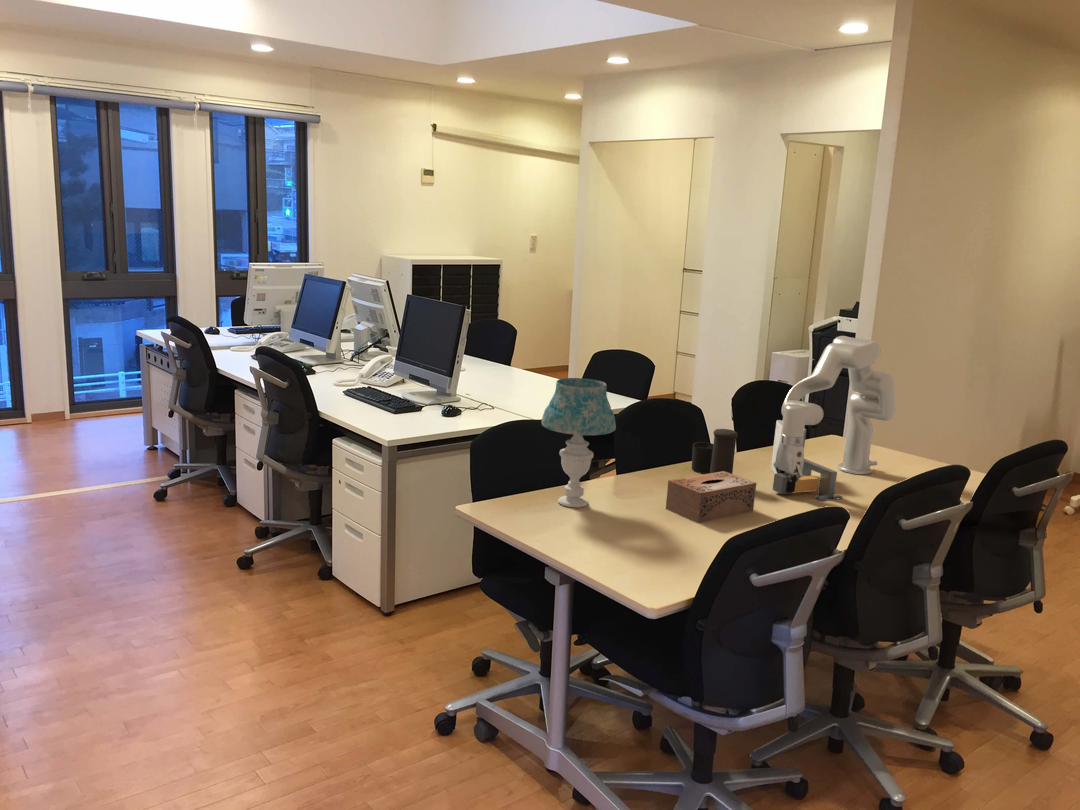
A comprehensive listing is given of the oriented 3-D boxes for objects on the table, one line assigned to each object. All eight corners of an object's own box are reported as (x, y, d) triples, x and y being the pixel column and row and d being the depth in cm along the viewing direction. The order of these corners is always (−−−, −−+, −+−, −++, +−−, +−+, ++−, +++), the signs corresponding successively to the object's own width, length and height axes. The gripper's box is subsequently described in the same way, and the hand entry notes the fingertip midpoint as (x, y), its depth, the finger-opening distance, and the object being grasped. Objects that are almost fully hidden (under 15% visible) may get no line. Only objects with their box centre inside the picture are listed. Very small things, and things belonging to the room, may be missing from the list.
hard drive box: (800, 481, 319) (807, 430, 315) (779, 480, 319) (786, 428, 315) (789, 470, 334) (795, 420, 330) (769, 468, 334) (775, 419, 330)
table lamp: (571, 487, 295) (579, 373, 287) (624, 506, 279) (634, 385, 270) (521, 500, 279) (528, 379, 270) (574, 520, 262) (583, 393, 254)
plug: (808, 486, 310) (810, 470, 308) (817, 490, 305) (819, 474, 304) (772, 489, 303) (774, 473, 302) (780, 493, 299) (782, 477, 298)
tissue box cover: (697, 523, 267) (700, 493, 265) (665, 509, 279) (668, 480, 277) (753, 511, 282) (756, 482, 280) (720, 499, 294) (723, 471, 291)
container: (734, 482, 313) (740, 429, 309) (729, 488, 305) (735, 434, 301) (711, 478, 317) (717, 425, 313) (705, 484, 309) (711, 430, 304)
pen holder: (719, 470, 328) (721, 445, 326) (709, 475, 320) (712, 449, 318) (696, 465, 333) (698, 440, 331) (686, 470, 325) (689, 445, 323)
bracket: (808, 483, 318) (811, 457, 316) (841, 498, 302) (845, 471, 299) (786, 485, 314) (789, 458, 312) (819, 500, 298) (822, 473, 296)
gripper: (816, 445, 293) (809, 496, 296) (784, 433, 308) (778, 482, 312) (798, 446, 290) (792, 498, 293) (767, 434, 305) (761, 483, 309)
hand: (785, 489), depth 302 cm, fingers closed on plug, 4 cm apart
